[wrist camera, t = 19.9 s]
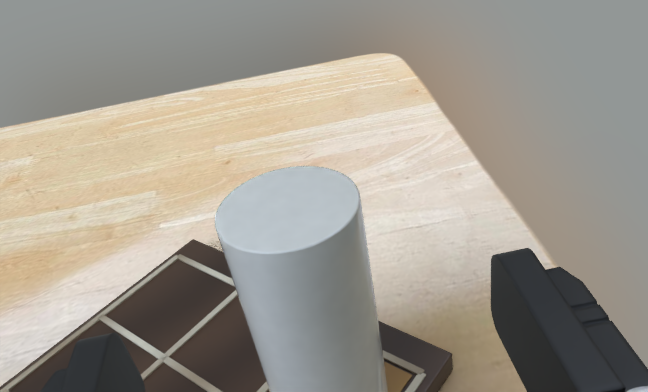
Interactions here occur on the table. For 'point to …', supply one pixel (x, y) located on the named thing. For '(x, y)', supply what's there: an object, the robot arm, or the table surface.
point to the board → (209, 335)
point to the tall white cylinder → (305, 279)
